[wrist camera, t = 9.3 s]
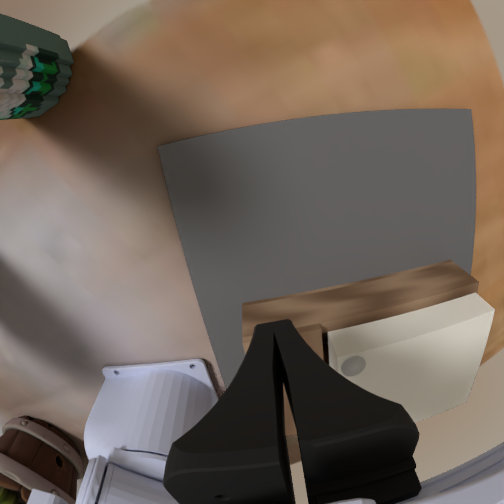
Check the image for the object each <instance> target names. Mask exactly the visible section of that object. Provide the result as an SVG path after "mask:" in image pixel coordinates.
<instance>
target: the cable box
mask: <svg viewBox="0 0 504 504" xmlns="http://www.w3.org/2000/svg"><path fill="white" fill-rule="evenodd" d="M478 284H479V282H478V281H477V280H476V279H475V278H473V277H472V276H471V275H470V274H468V273H467V272H466V271H465V270H463V269H462V268H461V267H459V266H458V265H457V264H455V263H454V262H453V261H452V260H447V261H443V262H439V263H434V264H430V265H426V266H422V267H418V268H414V269H409V270H405V271H401V272H396V273H392V274H388V275H383V276H379V277H374V278H370V279H365V280H360V281H356V282H351V283H346V284H341V285H336V286H331V287H327V288H322V289H316V290H311V291H306V292H301V293H296V294H290V295H285V296H280V297H274V298H269V299H263V300H257V301H252V302H246V303H242V344H243V347H244V351H245V355H246V352H247V350H248V348H249V345H250V342H251V339H252V336H253V332H254V327H255V326H256V325H257V324H262V323H268V322H273V321H279V320H284V319H289V320H291V321H292V323H293V325H294V327H295V328H296V330H297V331H298V333H299V334H300V335H301V337H302V338H303V339H304V340H305V342H306V343H307V344H308V345H309V346H310V347H311V348H312V350H313V351H314V352H315V353H316V354H317V355H318V356H319V357H320V358H321V359H323V360H324V361H325V362H326V363H327V364H328V365H329V349H328V332H329V331H334V330H339V329H343V328H348V327H352V326H357V325H361V324H365V323H369V322H373V321H377V320H382V319H386V318H389V317H393V316H397V315H401V314H405V313H408V312H412V311H416V310H419V309H423V308H426V307H430V306H433V305H437V304H440V303H444V302H447V301H450V300H453V299H457V298H460V297H463V296H466V295H469V294H472V293H475V292H476V293H477V290H478ZM283 389H284V413H285V433H286V436H291V435H296V434H297V431H296V427H295V423H294V419H293V416H292V412H291V409H290V405H289V401H288V398H287V394H286V391H285V387H284V383H283Z"/></svg>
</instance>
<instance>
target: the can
mask: <svg viewBox="0 0 504 504" xmlns="http://www.w3.org/2000/svg"><path fill="white" fill-rule="evenodd" d="M73 63H74V61H73V58H72V55H71V52H70V49H69V46H68V43H67V41H66V40H64V39H61V38H60V36H59V35H57V34H54V33H52V32H50V31H47V30H44V29H42V28H39V27H36V26H34V25H31V24H29V23H26V22H23V21H20V20H18V19H15V18H12V17H9V16H6V15H3V14H0V120H5V119H20V118H30V117H39V116H41V115H42V114H43V113H45V112H46V111H47V110H49V109H50V108H51V107H53V106H54V105H55V104H57V103H58V102H59V99H58V96H60V95H61V94H63V93H64V92H65V91H67V90H66V87H65V86H66V85H67V84H69V80H68V78H69V77H70V76H72V72H71V69H70V65H71V64H73Z"/></svg>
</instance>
